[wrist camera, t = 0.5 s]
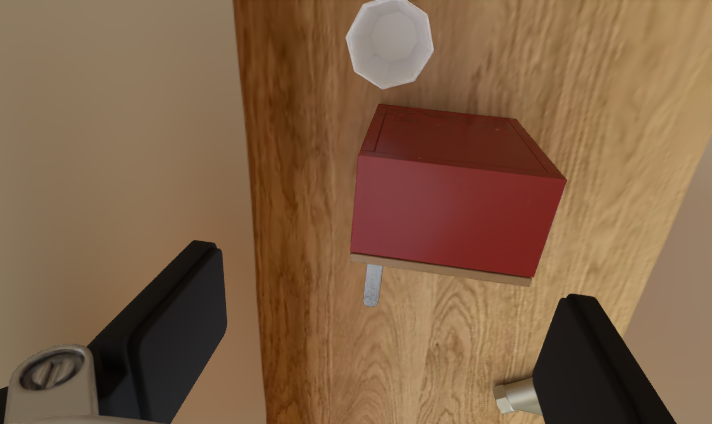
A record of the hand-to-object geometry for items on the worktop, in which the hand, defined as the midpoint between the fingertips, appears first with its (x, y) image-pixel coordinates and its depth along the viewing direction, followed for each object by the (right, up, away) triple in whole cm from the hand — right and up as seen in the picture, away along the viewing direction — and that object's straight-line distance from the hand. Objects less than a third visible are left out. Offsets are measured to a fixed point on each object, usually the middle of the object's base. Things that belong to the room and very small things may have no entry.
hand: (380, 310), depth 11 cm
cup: (+3, +21, +27) cm, 35 cm away
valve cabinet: (+8, +9, +32) cm, 35 cm away
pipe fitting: (+23, -22, +46) cm, 56 cm away
